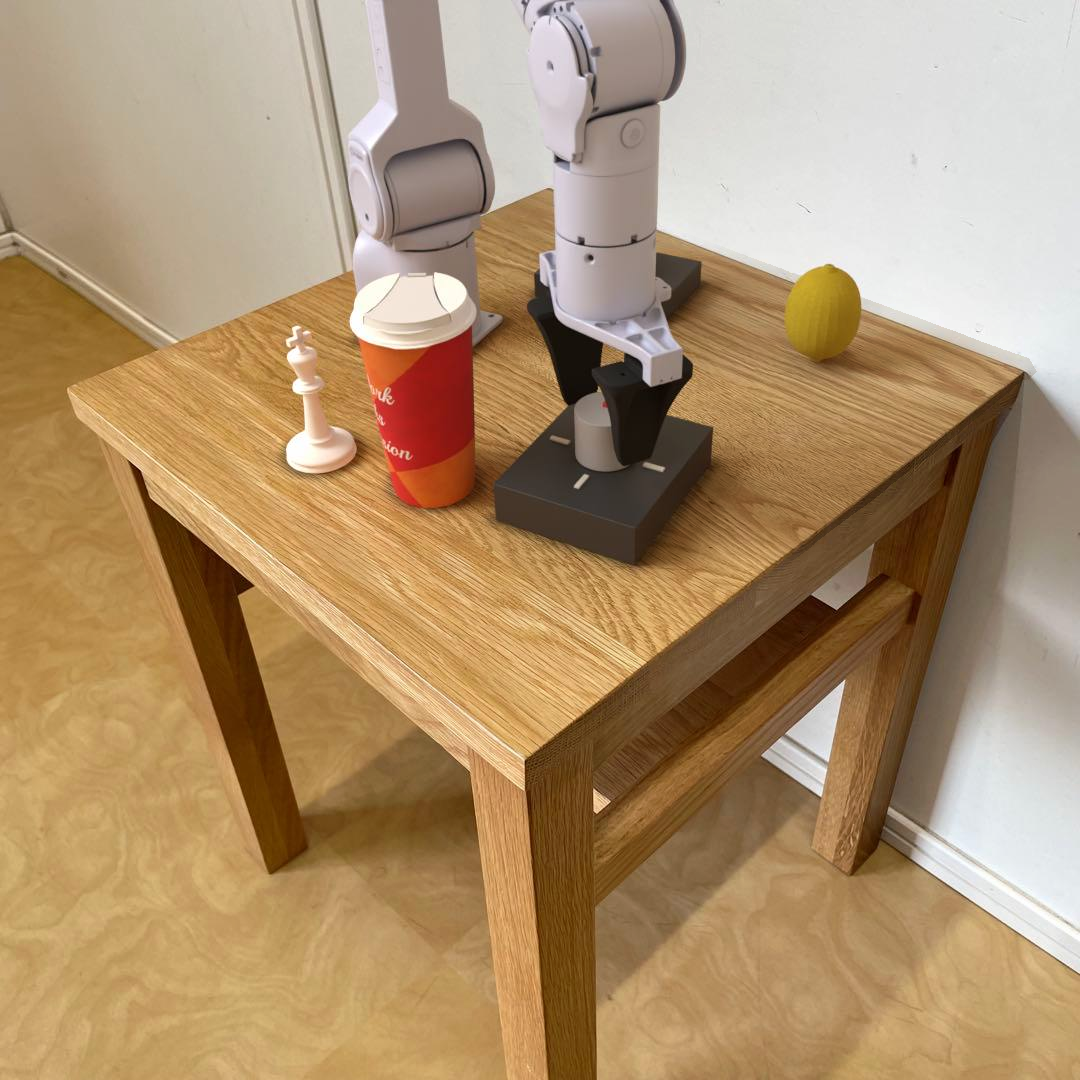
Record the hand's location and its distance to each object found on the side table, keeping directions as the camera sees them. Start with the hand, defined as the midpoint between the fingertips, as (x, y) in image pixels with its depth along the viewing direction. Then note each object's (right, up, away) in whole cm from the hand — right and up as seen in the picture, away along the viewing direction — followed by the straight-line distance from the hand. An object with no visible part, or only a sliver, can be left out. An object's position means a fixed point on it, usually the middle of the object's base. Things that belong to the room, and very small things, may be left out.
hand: (606, 428), depth 71 cm
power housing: (+3, +14, +25) cm, 29 cm away
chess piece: (-20, -1, +8) cm, 21 cm away
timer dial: (0, -2, +1) cm, 2 cm away
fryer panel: (0, -4, +3) cm, 5 cm away
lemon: (+17, +7, +15) cm, 24 cm away
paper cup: (-11, -3, +5) cm, 13 cm away
